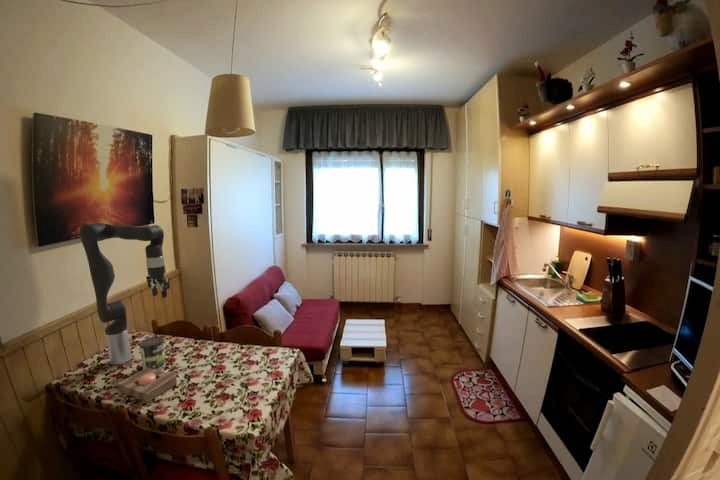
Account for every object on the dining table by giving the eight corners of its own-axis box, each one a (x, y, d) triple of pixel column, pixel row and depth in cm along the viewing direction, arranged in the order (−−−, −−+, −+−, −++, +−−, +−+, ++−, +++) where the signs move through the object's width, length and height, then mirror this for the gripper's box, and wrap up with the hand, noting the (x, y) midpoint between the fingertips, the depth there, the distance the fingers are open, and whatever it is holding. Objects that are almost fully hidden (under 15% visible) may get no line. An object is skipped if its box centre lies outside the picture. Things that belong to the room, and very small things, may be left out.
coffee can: (170, 361, 168) (167, 337, 165) (154, 372, 158) (151, 347, 155) (154, 359, 170) (151, 335, 167) (137, 370, 160) (133, 345, 157)
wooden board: (118, 391, 144) (117, 383, 143) (148, 374, 157) (147, 366, 156) (148, 402, 137) (146, 394, 136) (176, 383, 150) (175, 375, 149)
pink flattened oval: (136, 389, 145) (134, 380, 144) (150, 380, 151) (149, 372, 150) (145, 392, 142) (144, 383, 142) (160, 383, 149) (158, 375, 148)
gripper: (138, 265, 156) (143, 297, 159) (158, 268, 151) (162, 300, 154) (153, 261, 163) (157, 292, 166) (172, 264, 157) (176, 295, 161)
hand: (160, 296), depth 160 cm, fingers open, 6 cm apart
